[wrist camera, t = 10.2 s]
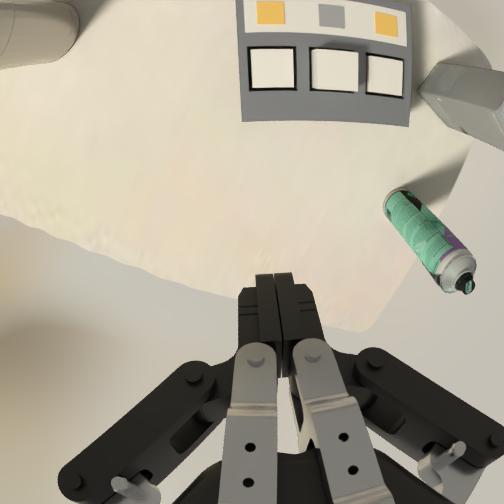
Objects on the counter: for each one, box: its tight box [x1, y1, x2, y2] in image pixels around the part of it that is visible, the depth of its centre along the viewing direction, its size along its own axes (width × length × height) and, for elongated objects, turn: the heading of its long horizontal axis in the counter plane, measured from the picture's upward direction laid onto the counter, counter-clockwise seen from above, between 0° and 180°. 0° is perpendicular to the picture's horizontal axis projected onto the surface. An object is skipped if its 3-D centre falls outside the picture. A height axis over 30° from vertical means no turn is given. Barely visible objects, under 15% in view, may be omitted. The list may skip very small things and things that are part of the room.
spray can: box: [383, 188, 476, 295], centre depth 34 cm, size 6×6×20 cm
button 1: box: [365, 56, 403, 96], centre depth 29 cm, size 4×4×3 cm
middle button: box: [311, 49, 358, 92], centre depth 27 cm, size 4×4×3 cm
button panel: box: [236, 0, 412, 127], centre depth 29 cm, size 20×16×5 cm
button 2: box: [250, 49, 294, 88], centre depth 29 cm, size 4×4×3 cm
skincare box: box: [417, 63, 504, 151], centre depth 26 cm, size 8×7×16 cm
